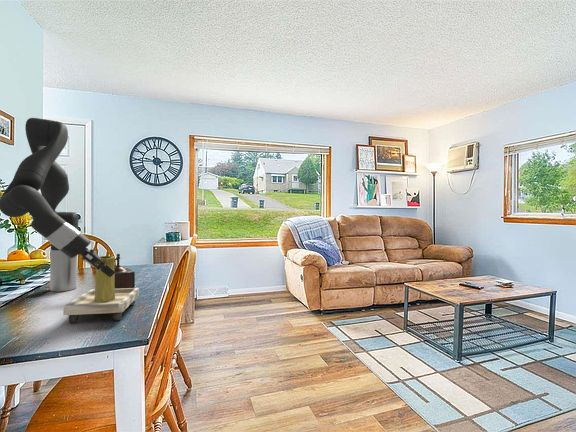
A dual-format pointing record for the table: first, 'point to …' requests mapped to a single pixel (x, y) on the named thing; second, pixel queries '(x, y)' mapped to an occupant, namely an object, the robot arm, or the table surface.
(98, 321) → the table surface
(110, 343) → the table surface
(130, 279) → the coffee grinder
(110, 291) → the vase
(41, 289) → the table surface
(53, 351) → the table surface
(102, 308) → the caster dolly
